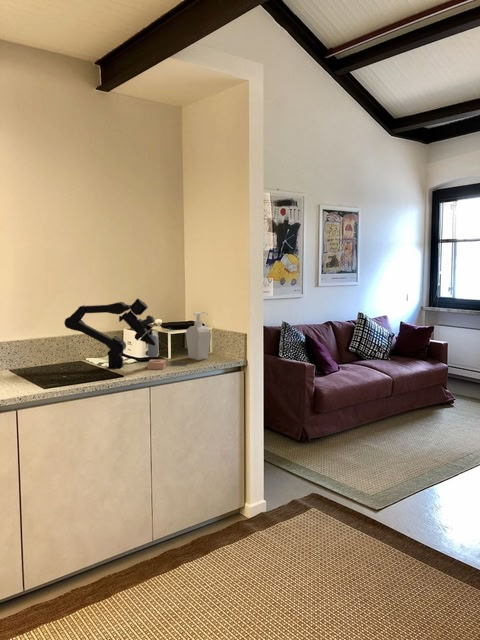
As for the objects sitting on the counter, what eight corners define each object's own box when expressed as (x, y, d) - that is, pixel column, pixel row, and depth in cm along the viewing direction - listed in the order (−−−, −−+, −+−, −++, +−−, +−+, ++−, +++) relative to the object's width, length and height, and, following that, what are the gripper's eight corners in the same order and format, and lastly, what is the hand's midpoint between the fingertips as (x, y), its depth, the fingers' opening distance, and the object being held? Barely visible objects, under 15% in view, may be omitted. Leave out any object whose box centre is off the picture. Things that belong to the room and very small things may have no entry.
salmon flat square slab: (147, 369, 260) (147, 362, 260) (150, 366, 268) (150, 359, 268) (163, 369, 260) (163, 362, 260) (166, 366, 268) (166, 359, 268)
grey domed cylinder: (146, 356, 262) (145, 335, 260) (150, 354, 267) (150, 334, 265) (155, 357, 260) (155, 336, 259) (160, 355, 265) (159, 334, 264)
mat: (168, 366, 267) (168, 366, 267) (171, 363, 276) (171, 362, 276) (186, 367, 267) (186, 366, 267) (188, 363, 276) (188, 362, 276)
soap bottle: (213, 359, 288) (213, 312, 285) (198, 361, 282) (198, 313, 279) (200, 356, 297) (200, 310, 294) (185, 358, 291) (185, 311, 288)
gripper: (141, 312, 251) (164, 335, 253) (148, 308, 270) (169, 330, 271) (124, 328, 253) (147, 351, 254) (133, 323, 271) (154, 345, 272)
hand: (155, 344), depth 263 cm, fingers closed on grey domed cylinder, 5 cm apart
